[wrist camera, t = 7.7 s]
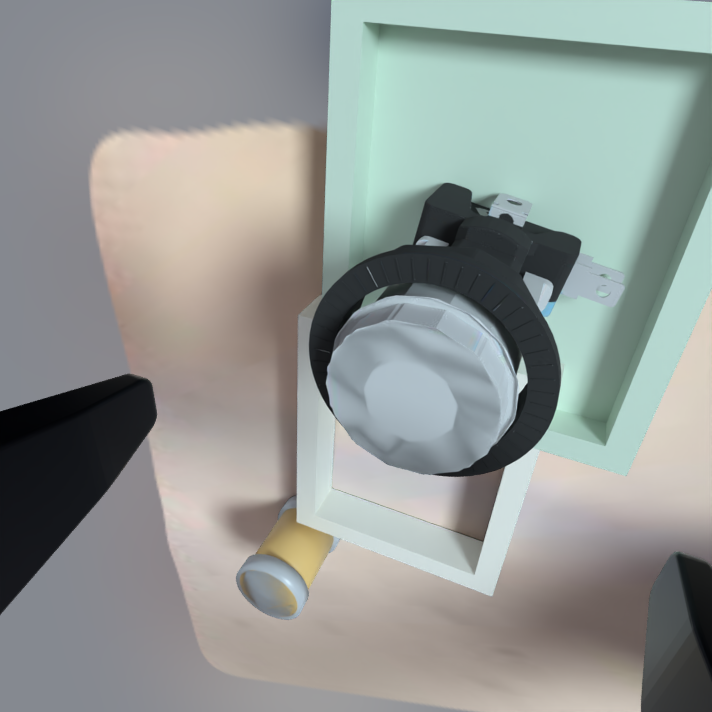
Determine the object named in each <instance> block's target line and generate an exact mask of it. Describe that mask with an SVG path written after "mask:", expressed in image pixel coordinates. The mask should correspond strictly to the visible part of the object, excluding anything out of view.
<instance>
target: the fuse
mask: <svg viewBox="0 0 712 712" xmlns="http://www.w3.org/2000/svg"><path fill="white" fill-rule="evenodd" d="M339 540H340V538H337V537H334V536H332V535H329V534H327V533H324V532H321V531H319V530H316V529H314V528H311V527H308V526H306V525H303V524H300V523H298V522H297V495H296V496H293V497H291V498H290V499H288V501H287V502H286V503H285V505H284V506H283V508H282V509H281V511H280V512H279V514H278V521H277V523H276V524H275V526H274V527H273V529H272V530H271V532H270V533H269V535H268V536H267V538H266V539H265V541H264V542H263V543H262V545H261V546H260V548H259V549H258V551H257V552H256V554H255V555H252V556H250V557H249V558H248V559H247V560H246V561H245V563H244V564H243V566H242V567H241V569H240V570H239V571H238V573H237V576H236V582H237V585H238V588H239V590H240V591H241V593H242V594H243V596H244V597H245V598H246V599H247V600H248V601H249V602H250V603H251V604H252V605H253V606H254V607H256V608H257V609H259V610H260V611H262V612H263V613H265V614H267V615H269V616H272V617H275V618H278V619H284V620H289V619H294V618H296V617H297V616H299V614H300V613H301V611H302V609H303V607H304V605H305V603H306V601H307V600H308V597H309V591H308V589H309V587H310V586H311V584H312V582H313V580H314V578H315V576H316V575H317V573H318V571H319V569H320V567H321V565H322V564H323V562H324V560H325V558H326V556H327V555H328V553H330V552H332V551H333V550H334V549H335V548H336V546H337V544H338V542H339Z"/></svg>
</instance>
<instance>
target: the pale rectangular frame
mask: <svg viewBox="0 0 712 712" xmlns="http://www.w3.org/2000/svg"><path fill="white" fill-rule="evenodd" d="M321 300H322V295H319V296H318V297H317V298H316V299H315V300H314V301H313V302H312V303H310V304H309V305H308V306H307V307H306V308H305V309H304V310H303V311H302V312H301V313H300V314H299V315H298V379H297V522H298V523H300V524H303V525H306V526H308V527H311V528H314V529H316V530H319V531H321V532H324V533H327V534H329V535H332V536H334V537H337V538H340V539H342V540H345V541H347V542H350V543H353V544H355V545H358V546H361V547H363V548H366V549H368V550H371V551H374V552H376V553H379V554H381V555H384V556H387V557H389V558H392V559H395V560H397V561H400V562H402V563H405V564H408V565H410V566H413V567H415V568H418V569H421V570H423V571H426V572H429V573H431V574H434V575H436V576H439V577H442V578H444V579H447V580H449V581H452V582H455V583H457V584H460V585H463V586H465V587H468V588H470V589H473V590H476V591H478V592H481V593H483V594H486V595H489V596H491V597H492V596H493V593H494V590H495V587H496V583H497V580H498V577H499V574H500V571H501V568H502V565H503V562H504V559H505V556H506V553H507V550H508V547H509V544H510V540H511V537H512V534H513V531H514V528H515V525H516V522H517V519H518V516H519V513H520V510H521V507H522V504H523V501H524V497H525V494H526V491H527V488H528V485H529V482H530V479H531V476H532V473H533V470H534V467H535V464H536V461H537V458H538V454H539V451H540V450H537V449H534V448H532V449H531V450H530V451H529V452H528V453H527V454H525V455H524V456H523V457H521V458H520V459H518V460H517V461H515V462H513V463H511V464H509V465H507V466H505V468H504V471H503V475H502V478H501V482H500V485H499V489H498V492H497V496H496V499H495V503H494V506H493V510H492V513H491V517H490V520H489V524H488V527H487V531H486V534H485V538H484V541H483V542H482V541H479V540H476V539H473V538H471V537H468V536H465V535H462V534H459V533H457V532H454V531H451V530H448V529H445V528H443V527H440V526H437V525H434V524H431V523H428V522H426V521H423V520H420V519H417V518H414V517H412V516H409V515H406V514H403V513H400V512H398V511H395V510H392V509H389V508H386V507H383V506H381V505H378V504H375V503H372V502H369V501H367V500H364V499H361V498H358V497H355V496H353V495H350V494H347V493H344V492H341V491H339V490H336V489H333V488H332V471H333V453H334V435H335V417H334V415H333V414H332V412H331V411H330V410H329V408H328V407H327V405H326V403H325V402H324V400H323V398H322V396H321V394H320V392H319V390H318V388H317V385H316V382H315V380H314V377H313V373H312V369H311V364H310V357H309V334H310V329H311V324H312V320H313V317H314V314H315V312H316V309H317V307H318V305H319V303H320V301H321ZM564 366H565V364H563V363H561V383H562V377H563V372H564ZM516 376H517V379H518V384H519V393H520V392H521V391H522V390H523V388H524V387H525V385H526V384H527V382H528V379H527V372H526V367H525V363H524V360H523V356H522V359H521V362H520V365H519V369H518V372H517V375H516Z"/></svg>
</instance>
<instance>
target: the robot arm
mask: <svg viewBox="0 0 712 712" xmlns="http://www.w3.org/2000/svg"><path fill="white" fill-rule="evenodd" d="M156 418H157V410H156V404H155V398H154V392H153V386H152V383H151V382H150V381H149V380H148V379H146V378H143V377H140V376H137V375H134V374H126V375H122V376H119V377H115V378H112V379H108V380H105V381H102V382H99V383H95V384H92V385H88V386H85V387H81V388H78V389H75V390H71V391H68V392H65V393H61V394H58V395H54V396H51V397H48V398H44V399H41V400H37V401H34V402H30V403H27V404H24V405H20V406H17V407H14V408H10V409H7V410H3V411H0V615H1V613H2V612H3V611H4V610H5V609H6V608H7V606H8V605H9V604H10V603H11V602H12V601H13V600H14V598H15V597H16V596H17V595H18V594H19V593H20V592H21V590H22V589H23V588H24V587H25V586H26V585H27V583H28V582H29V581H30V580H31V579H32V578H33V576H34V575H35V574H36V573H37V572H38V571H39V569H40V568H41V567H42V566H43V565H44V564H45V563H46V561H47V560H48V559H49V558H50V557H51V556H52V554H53V553H54V552H55V551H56V550H57V549H58V548H59V546H60V545H61V544H62V543H63V542H64V541H65V539H66V538H67V537H68V536H69V535H70V534H71V532H72V531H73V530H74V529H75V528H76V527H77V526H78V524H79V523H80V522H81V521H82V520H83V519H84V517H85V516H86V515H87V514H88V513H89V512H90V510H91V509H92V508H93V507H94V506H95V505H96V504H97V502H98V501H99V500H100V499H101V498H102V496H103V495H104V494H105V493H106V492H107V490H108V489H109V488H110V486H111V485H112V484H113V482H114V481H115V480H116V478H117V477H118V476H119V474H120V473H121V471H122V470H123V468H124V467H125V466H126V464H127V462H128V461H129V460H130V459H131V457H132V456H133V454H134V453H135V451H136V450H137V448H138V447H139V446H140V444H141V443H142V442H143V440H144V439H145V437H146V436H147V434H148V433H149V432H150V430H151V429H152V427H153V426H154V424H155V421H156ZM641 712H712V566H711V565H710V564H709V563H708V562H707V561H705V560H704V559H701V558H698V557H695V556H692V555H689V554H686V553H683V552H674V553H673V554H672V555H671V556H670V557H669V559H668V560H667V562H666V564H665V566H664V567H663V569H662V571H661V573H660V574H659V576H658V578H657V579H656V581H655V583H654V585H653V587H652V590H651V593H650V598H649V608H648V620H647V632H646V645H645V657H644V669H643V681H642V696H641Z"/></svg>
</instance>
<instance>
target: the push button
mask: <svg viewBox="0 0 712 712" xmlns="http://www.w3.org/2000/svg"><path fill="white" fill-rule="evenodd" d="M471 201H472V191H471V190H469V189H467V188H465V187H462V186H459V185H456V184H452V183H443V184H442V185H441V186H440V187H439V188H438V189H437V190H436V191H435V192H434V193H433V194H432V195H431V196H430V197H429V198H428V199H426V201H425V204H424V207H423V211H422V214H421V218H420V221H419V225H418V228H417V231H416V235H415V238H414V242H413V245H402V246H400V247H398V248H396V249H395V250H391V251H388V252H384V253H380V254H378V255H375V256H372V257H370V258H368V259H366V260H364V261H362V262H360V263H358V264H357V265H355V266H354V267H353V268H351V269H350V270H348V271H347V272H346V273H345V274H344V275H343V276H342V277H341V278H340V279H339V280H337V281H336V282H335V283H334V284H333V285H332V286H331V288H330V289H329V290H328V291H327V292H326V294H325V295H324V297H323V298H322V300H321V301H320V303H319V305H318V307H317V309H316V312H315V314H314V317H313V320H312V324H311V329H310V334H309V357H310V364H311V369H312V373H313V377H314V380H315V382H316V385H317V388H318V390H319V392H320V394H321V396H322V398H323V400H324V402H325V403H326V405H327V407H328V408H329V410H330V411H331V412H332V414H333V415H334V417H335V418H336V419H337V420H338V421H339V423H340V424H341V425H342V426H343V427H344V428H345V430H346V431H347V433H348V434H349V436H350V437H351V439H352V440H353V441H354V442H355V443H356V444H357V445H359V446H360V447H362V448H363V449H365V450H366V451H368V452H369V453H371V454H372V455H374V456H375V457H377V458H378V459H380V460H381V461H383V462H384V463H386V464H387V465H390V466H394V467H398V468H401V469H405V470H409V471H412V472H416V473H419V474H423V475H424V474H427V475H438V476H448V477H462V476H473V475H479V474H484V473H488V472H492V471H495V470H498V469H500V468H503V467H505V466H507V465H509V464H511V463H513V462H515V461H517V460H518V459H520V458H521V457H523V456H524V455H525V454H527V453H528V452H529V451H530V450H531V449H532V448H533V447H534V446H535V445H536V444H537V443H538V442H539V441H540V440H541V439H542V437H543V436H544V434H545V433H546V431H547V430H548V428H549V426H550V424H551V422H552V420H553V417H554V414H555V411H556V408H557V404H558V398H559V393H560V387H561V363H560V357H559V352H558V348H557V345H556V342H555V339H554V336H553V333H552V331H551V329H550V327H549V325H548V323H547V321H546V320H545V318H544V317H548V316H549V315H550V313H551V311H552V309H553V307H554V305H555V303H556V301H557V299H558V297H559V295H560V294H562V295H565V296H568V297H571V298H573V299H577V297H578V295H579V296H581V297H584V298H587V299H589V300H592V301H595V302H598V303H600V304H603V305H606V306H608V307H613V306H615V305H616V303H617V301H618V300H619V298H620V296H621V294H622V293H623V291H624V289H625V287H624V285H623V284H621V283H622V281H623V279H624V277H625V276H624V273H622V272H620V271H617V270H614V269H611V268H608V267H605V266H603V265H600V264H597V263H594V262H592V260H593V258H594V257H591V256H589V255H586V254H583V253H580V248H581V243H582V242H581V240H580V239H579V238H577V237H575V236H573V235H570V234H567V233H564V232H560V231H554V230H551V229H548V228H545V227H542V226H539V225H536V224H534V223H531V222H528V221H525V220H526V218H527V216H528V214H529V212H530V210H531V208H532V205H533V204H531V203H530V202H528V201H526V200H523V199H520V198H517V197H514V196H511V195H508V194H502V193H500V194H499V195H498V197H497V198H496V200H495V201H494V203H493V204H492V206H491V209H490V208H487V207H485V206H482V205H479V204H476V203H473V202H471ZM508 201H512V202H515V203H518V204H519V205H514V204H511V203H509V202H508ZM601 274H608V275H609V276H610V277H611V280H610V279H608V278H605V277H602V276H600V275H601ZM386 286H388V287H387V288H386V290H385V291H384V292H383V293H382V294H381V296H380V297H379V298H378V299H377V300H376V301H375V302H374V303H371V304H369V305H367V306H364V307H362V308H361V305H362V303H363V300H364V298H365V296H366V295H367V294H369V293H371V292H373V291H375V290H378V289H380V288H383V287H386ZM596 290H598V291H601V292H603V293H606V294H609V295H607V296H605V297H601V296H599V295H597V293H596ZM522 356H523V360H524V363H525V367H526V372H527V379H528V382H527V384H526V385H525V387H524V388H523V390H522V391H521V392H520V393H519V384H518V379H517V376H516V375H517V372H518V369H519V365H520V362H521V359H522Z"/></svg>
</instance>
